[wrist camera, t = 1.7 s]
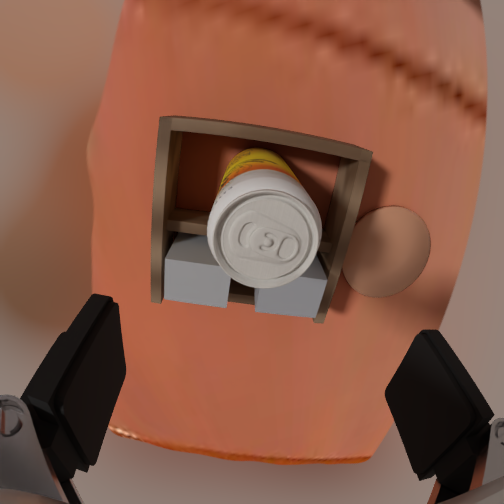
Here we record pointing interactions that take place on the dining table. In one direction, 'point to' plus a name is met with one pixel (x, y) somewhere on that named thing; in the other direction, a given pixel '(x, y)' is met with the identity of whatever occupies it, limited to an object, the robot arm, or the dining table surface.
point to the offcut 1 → (194, 273)
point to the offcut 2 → (294, 294)
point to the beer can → (263, 222)
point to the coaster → (386, 251)
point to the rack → (195, 222)
